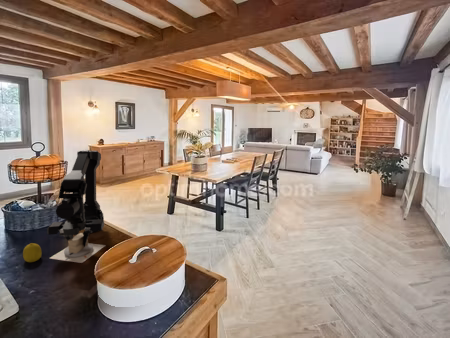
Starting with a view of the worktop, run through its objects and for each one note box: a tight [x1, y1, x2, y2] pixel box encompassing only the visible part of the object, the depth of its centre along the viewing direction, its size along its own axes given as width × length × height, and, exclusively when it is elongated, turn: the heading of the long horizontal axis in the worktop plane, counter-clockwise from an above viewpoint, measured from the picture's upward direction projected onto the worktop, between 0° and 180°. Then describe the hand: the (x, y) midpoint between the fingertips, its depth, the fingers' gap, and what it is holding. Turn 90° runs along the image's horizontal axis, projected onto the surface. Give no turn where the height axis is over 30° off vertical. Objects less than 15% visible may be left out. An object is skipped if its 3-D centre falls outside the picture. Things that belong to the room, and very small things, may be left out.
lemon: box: [22, 242, 43, 263], centre depth 96 cm, size 6×6×8 cm
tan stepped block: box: [63, 232, 93, 257], centre depth 102 cm, size 10×10×6 cm
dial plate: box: [49, 242, 106, 264], centre depth 103 cm, size 14×14×2 cm
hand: (78, 246), depth 102 cm, fingers closed on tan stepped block, 4 cm apart
